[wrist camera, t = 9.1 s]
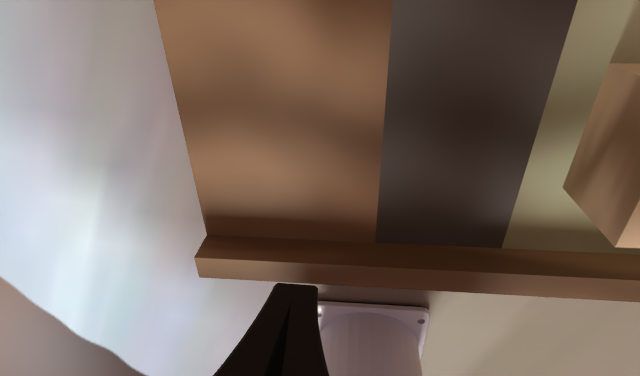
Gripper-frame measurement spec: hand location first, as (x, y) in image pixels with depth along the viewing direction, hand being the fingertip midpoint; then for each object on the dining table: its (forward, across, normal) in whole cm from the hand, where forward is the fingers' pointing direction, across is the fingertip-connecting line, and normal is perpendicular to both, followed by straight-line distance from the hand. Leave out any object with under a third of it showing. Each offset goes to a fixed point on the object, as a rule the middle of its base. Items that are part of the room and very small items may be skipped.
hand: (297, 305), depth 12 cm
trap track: (+9, -9, -3) cm, 13 cm away
